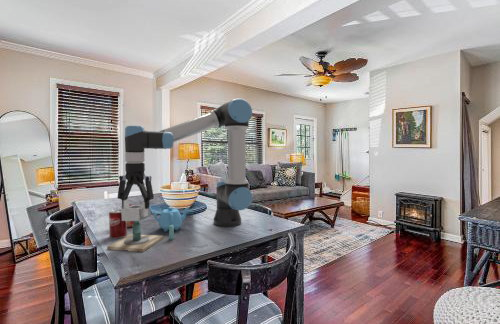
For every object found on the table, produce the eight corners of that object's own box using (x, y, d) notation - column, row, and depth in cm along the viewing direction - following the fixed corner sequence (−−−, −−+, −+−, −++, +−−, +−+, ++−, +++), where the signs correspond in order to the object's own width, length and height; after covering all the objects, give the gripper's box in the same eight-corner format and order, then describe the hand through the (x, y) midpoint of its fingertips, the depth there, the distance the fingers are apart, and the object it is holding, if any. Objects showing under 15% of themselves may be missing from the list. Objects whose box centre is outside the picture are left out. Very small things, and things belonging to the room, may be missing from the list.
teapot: (152, 231, 135) (151, 209, 134) (172, 222, 147) (171, 202, 146) (171, 235, 129) (170, 212, 128) (190, 226, 141) (190, 205, 140)
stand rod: (174, 238, 122) (174, 225, 122) (172, 239, 120) (172, 226, 120) (170, 238, 123) (170, 225, 122) (168, 239, 121) (168, 226, 120)
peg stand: (163, 238, 122) (162, 216, 122) (143, 251, 106) (142, 226, 106) (131, 236, 125) (130, 215, 124) (107, 249, 109) (106, 224, 109)
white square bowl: (149, 216, 118) (149, 205, 118) (139, 221, 111) (138, 209, 110) (133, 216, 120) (132, 204, 120) (121, 220, 112) (121, 208, 112)
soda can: (115, 240, 120) (114, 213, 119) (106, 237, 124) (105, 211, 123) (130, 235, 126) (129, 210, 126) (121, 233, 130) (120, 208, 129)
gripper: (162, 162, 116) (162, 214, 117) (118, 161, 119) (119, 212, 121) (153, 163, 108) (153, 219, 109) (106, 162, 112) (107, 216, 113)
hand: (135, 215), depth 115 cm, fingers closed on white square bowl, 8 cm apart
